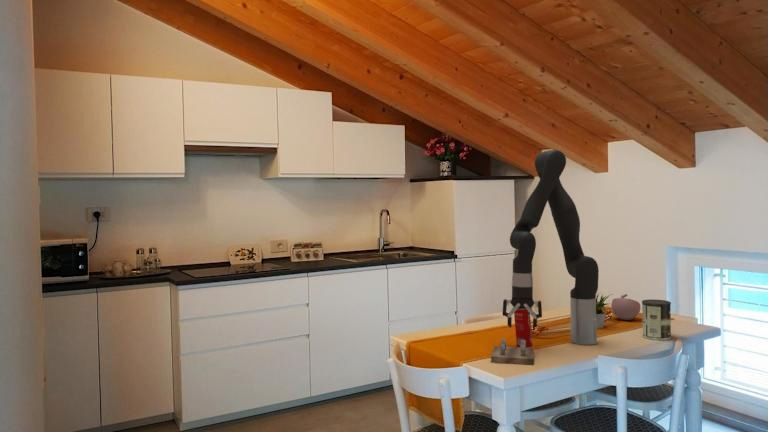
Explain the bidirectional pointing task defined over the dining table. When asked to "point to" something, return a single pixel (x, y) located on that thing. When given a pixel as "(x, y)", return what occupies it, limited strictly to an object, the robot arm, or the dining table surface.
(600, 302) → the house plant
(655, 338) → the coffee can
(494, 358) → the peg board
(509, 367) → the dining table surface
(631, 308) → the pink apple
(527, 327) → the beverage can
